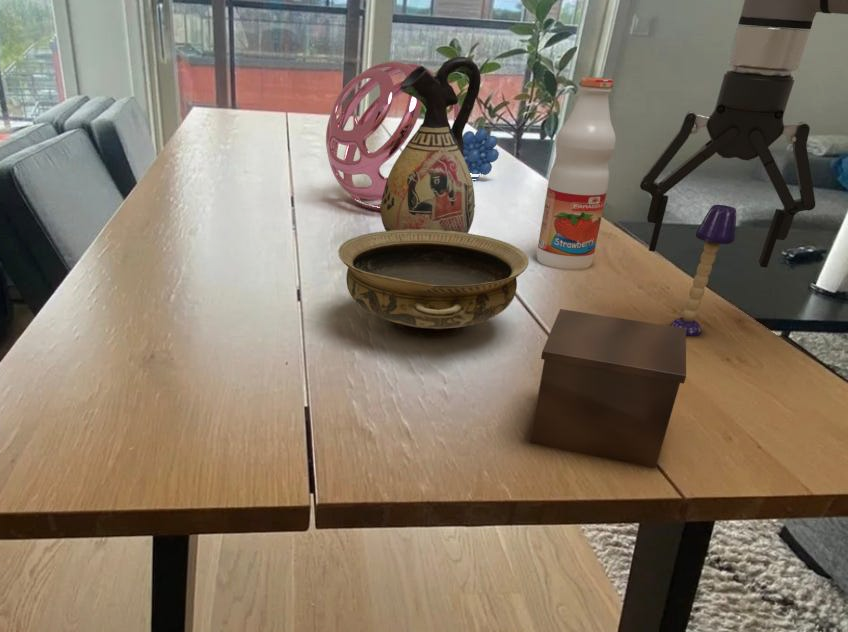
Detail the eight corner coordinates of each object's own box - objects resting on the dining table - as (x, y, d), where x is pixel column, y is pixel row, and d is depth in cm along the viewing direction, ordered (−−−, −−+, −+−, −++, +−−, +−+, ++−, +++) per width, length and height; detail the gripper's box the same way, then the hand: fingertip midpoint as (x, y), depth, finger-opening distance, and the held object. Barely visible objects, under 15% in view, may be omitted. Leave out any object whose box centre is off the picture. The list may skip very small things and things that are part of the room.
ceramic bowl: (340, 287, 114) (341, 218, 109) (499, 294, 115) (509, 226, 109) (331, 370, 89) (333, 285, 83) (537, 378, 89) (551, 295, 84)
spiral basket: (440, 94, 168) (364, 9, 147) (516, 148, 152) (444, 61, 131) (360, 199, 176) (278, 134, 155) (424, 261, 160) (343, 197, 139)
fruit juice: (572, 253, 136) (605, 76, 121) (602, 269, 128) (642, 82, 113) (525, 256, 133) (553, 74, 118) (554, 272, 125) (588, 81, 111)
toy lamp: (694, 326, 107) (729, 202, 98) (712, 339, 103) (751, 211, 94) (662, 327, 106) (695, 202, 97) (679, 339, 102) (715, 210, 93)
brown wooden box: (661, 416, 82) (686, 328, 77) (658, 472, 72) (686, 375, 67) (544, 394, 86) (560, 308, 80) (525, 445, 75) (542, 351, 70)
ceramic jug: (390, 270, 123) (403, 57, 107) (370, 243, 135) (379, 49, 119) (490, 268, 126) (517, 61, 110) (461, 242, 139) (482, 53, 123)
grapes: (498, 180, 189) (505, 128, 183) (493, 185, 184) (500, 131, 177) (452, 175, 192) (457, 123, 186) (446, 180, 187) (451, 126, 180)
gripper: (874, 78, 87) (807, 263, 99) (649, 60, 94) (610, 235, 105) (889, 83, 81) (815, 279, 93) (646, 63, 88) (605, 249, 99)
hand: (706, 256), depth 99 cm, fingers open, 13 cm apart
